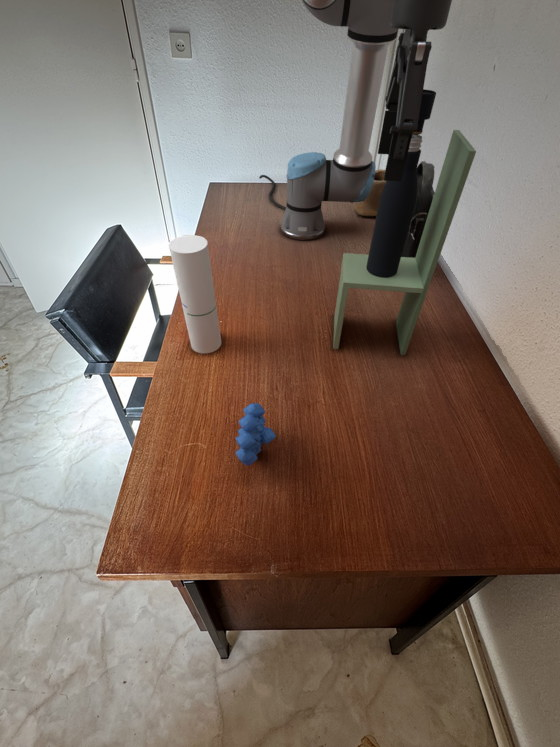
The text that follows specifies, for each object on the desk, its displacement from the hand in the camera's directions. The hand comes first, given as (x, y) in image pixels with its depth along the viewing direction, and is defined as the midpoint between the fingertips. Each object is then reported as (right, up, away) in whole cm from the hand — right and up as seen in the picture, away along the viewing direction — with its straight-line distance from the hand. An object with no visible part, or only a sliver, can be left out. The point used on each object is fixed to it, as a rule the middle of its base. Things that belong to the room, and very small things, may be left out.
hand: (388, 166), depth 63 cm
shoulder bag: (+18, -2, +51) cm, 54 cm away
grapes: (-23, -50, +4) cm, 55 cm away
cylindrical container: (-36, -29, +25) cm, 52 cm away
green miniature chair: (+3, -26, +27) cm, 38 cm away
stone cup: (+17, +24, +75) cm, 81 cm away
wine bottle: (+3, -14, +14) cm, 20 cm away
